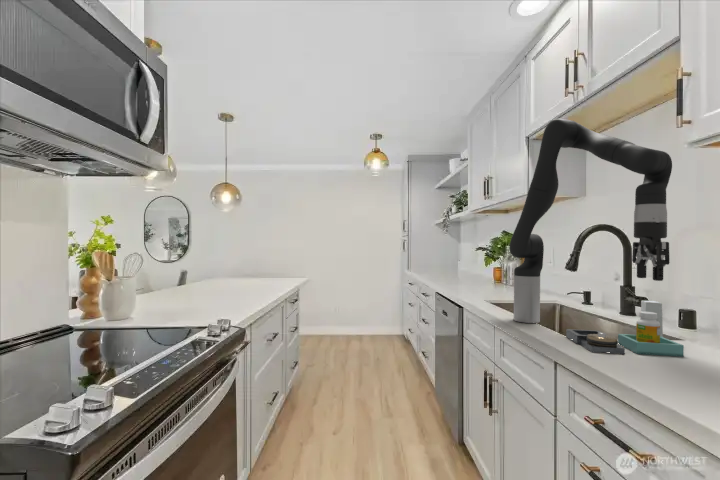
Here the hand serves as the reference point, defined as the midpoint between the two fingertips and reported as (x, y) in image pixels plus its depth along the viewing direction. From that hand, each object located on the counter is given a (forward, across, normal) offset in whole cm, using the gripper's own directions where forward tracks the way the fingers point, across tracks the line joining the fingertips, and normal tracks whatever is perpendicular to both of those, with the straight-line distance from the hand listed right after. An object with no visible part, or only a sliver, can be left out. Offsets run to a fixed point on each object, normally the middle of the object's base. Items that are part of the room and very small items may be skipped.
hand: (649, 279), depth 111 cm
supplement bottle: (+19, 0, 0) cm, 19 cm away
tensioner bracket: (+20, -2, -13) cm, 24 cm away
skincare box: (+20, -13, +7) cm, 25 cm away
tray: (+20, 0, 0) cm, 20 cm away
